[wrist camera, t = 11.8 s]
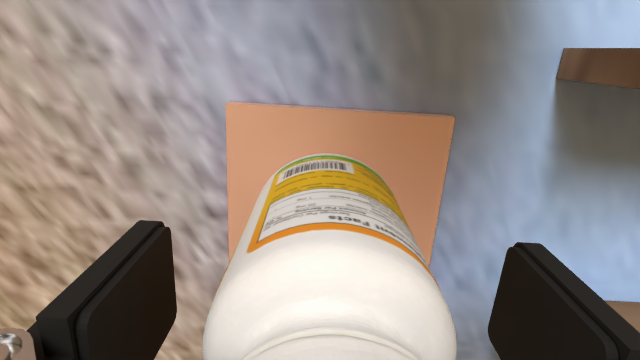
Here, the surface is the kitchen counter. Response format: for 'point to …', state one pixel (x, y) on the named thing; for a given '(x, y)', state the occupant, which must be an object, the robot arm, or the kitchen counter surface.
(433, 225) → the terracotta tile
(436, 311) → the supplement bottle
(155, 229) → the robot arm
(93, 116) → the kitchen counter surface
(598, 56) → the slot rack
